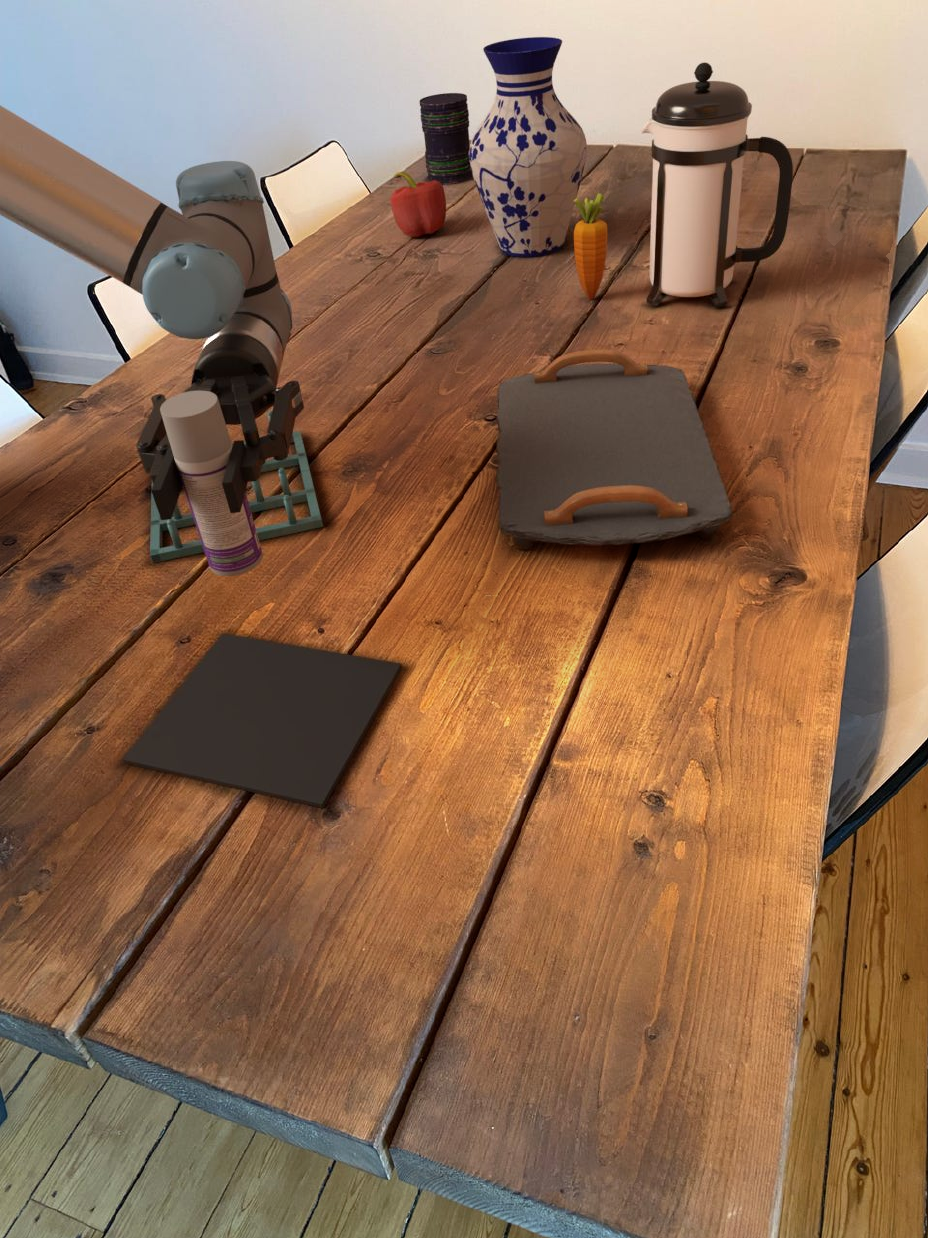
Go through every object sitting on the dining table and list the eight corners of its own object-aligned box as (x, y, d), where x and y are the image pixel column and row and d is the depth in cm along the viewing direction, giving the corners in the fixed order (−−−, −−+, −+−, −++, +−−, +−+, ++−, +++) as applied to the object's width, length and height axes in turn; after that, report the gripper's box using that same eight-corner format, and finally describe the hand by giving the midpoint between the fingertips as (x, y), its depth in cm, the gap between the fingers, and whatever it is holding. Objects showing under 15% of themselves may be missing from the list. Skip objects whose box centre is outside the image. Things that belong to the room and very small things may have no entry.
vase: (531, 221, 173) (522, 29, 154) (610, 239, 161) (612, 35, 142) (454, 252, 164) (434, 53, 144) (532, 274, 152) (523, 60, 133)
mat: (124, 763, 76) (122, 759, 76) (224, 637, 88) (222, 633, 88) (323, 808, 71) (322, 804, 71) (402, 667, 82) (401, 663, 82)
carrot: (568, 302, 142) (565, 197, 132) (584, 291, 145) (583, 187, 135) (597, 307, 139) (597, 200, 130) (613, 295, 142) (614, 190, 133)
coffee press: (680, 324, 132) (693, 81, 113) (619, 290, 143) (622, 64, 124) (782, 295, 136) (811, 57, 117) (715, 264, 148) (732, 43, 129)
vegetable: (380, 235, 174) (372, 178, 168) (423, 220, 179) (416, 163, 173) (419, 246, 167) (411, 186, 161) (461, 229, 172) (456, 171, 166)
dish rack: (152, 563, 98) (139, 528, 96) (154, 466, 114) (143, 434, 112) (323, 526, 101) (315, 491, 98) (301, 437, 117) (294, 404, 114)
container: (221, 543, 85) (173, 389, 75) (270, 545, 84) (228, 389, 74) (200, 575, 81) (147, 417, 72) (251, 578, 80) (204, 418, 71)
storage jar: (463, 184, 195) (456, 103, 185) (420, 184, 198) (411, 104, 188) (480, 170, 202) (474, 92, 192) (437, 170, 205) (430, 93, 195)
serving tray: (740, 557, 90) (747, 502, 86) (497, 572, 92) (492, 518, 88) (679, 377, 120) (682, 330, 116) (496, 390, 121) (493, 344, 117)
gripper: (337, 396, 92) (320, 530, 74) (158, 415, 93) (98, 552, 75) (323, 322, 88) (301, 446, 70) (134, 342, 88) (64, 470, 70)
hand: (196, 501), depth 72 cm, fingers closed on container, 5 cm apart
